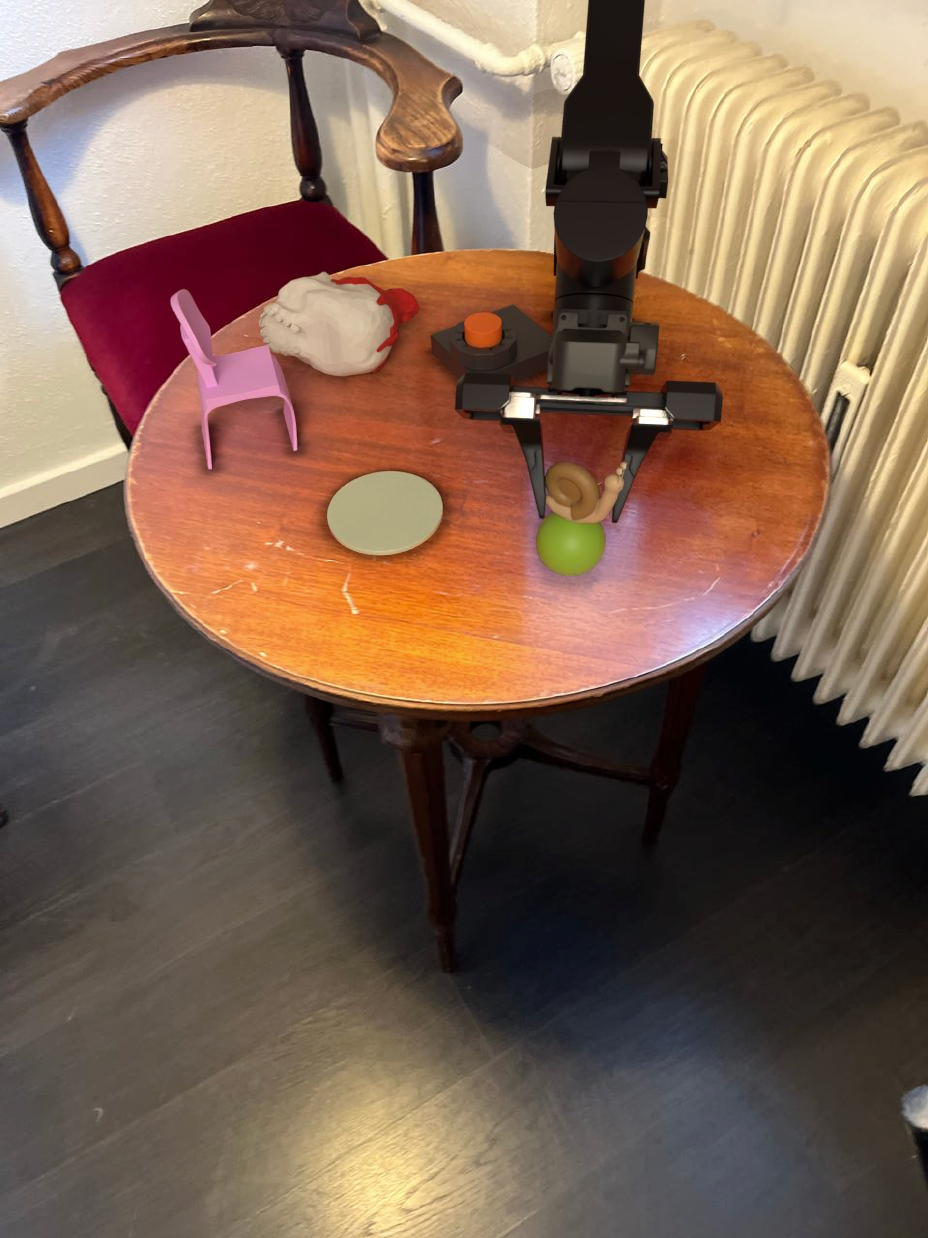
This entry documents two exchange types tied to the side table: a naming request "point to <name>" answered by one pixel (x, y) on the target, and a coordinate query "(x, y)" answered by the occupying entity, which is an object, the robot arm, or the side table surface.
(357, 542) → the coaster
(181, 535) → the side table surface
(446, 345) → the button block
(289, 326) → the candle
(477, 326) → the button
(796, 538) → the side table surface
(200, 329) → the toy chair
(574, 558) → the snail figurine
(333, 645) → the side table surface
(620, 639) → the side table surface
